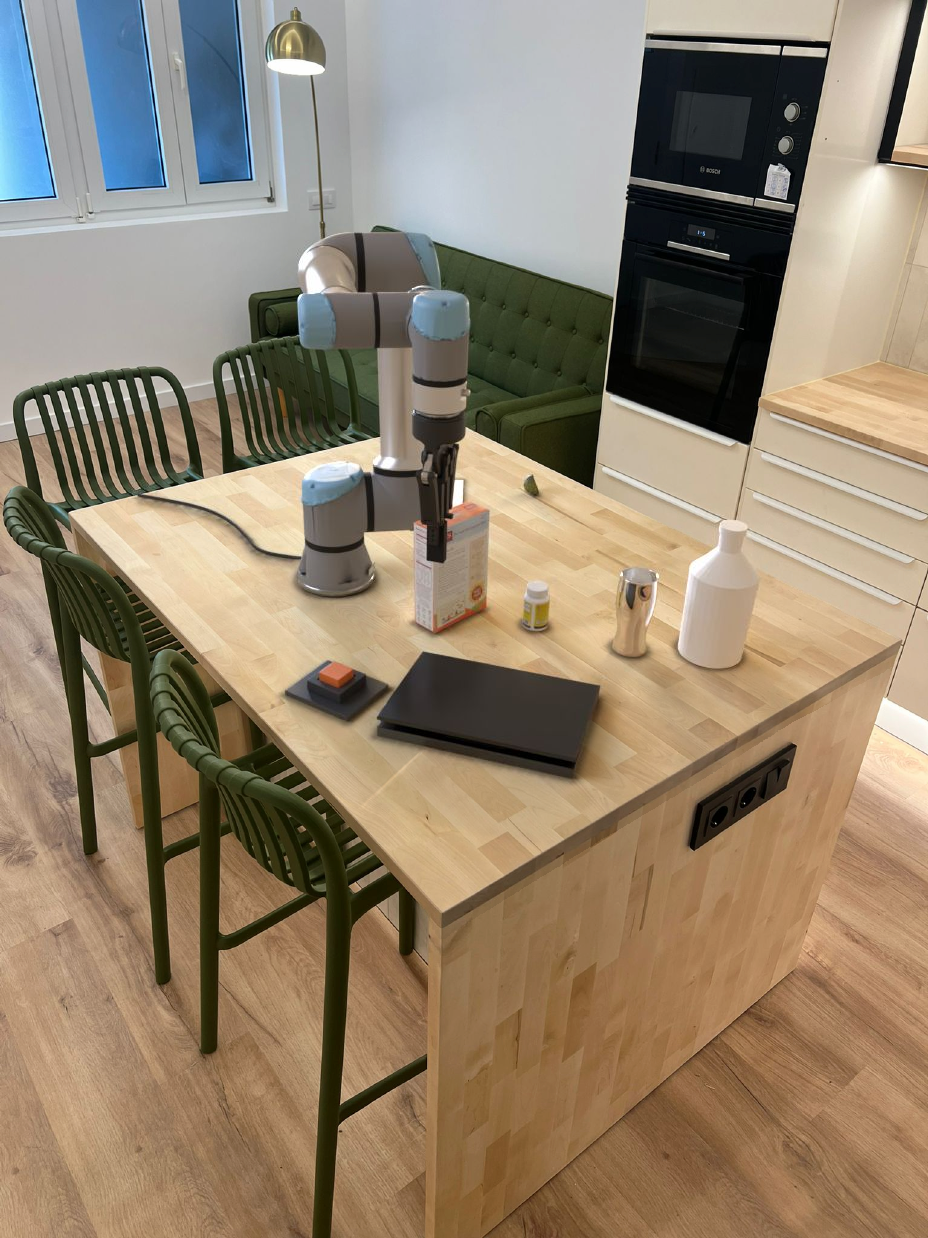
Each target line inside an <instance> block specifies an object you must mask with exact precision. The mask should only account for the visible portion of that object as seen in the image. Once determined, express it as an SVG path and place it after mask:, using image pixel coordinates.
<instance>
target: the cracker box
mask: <svg viewBox="0 0 928 1238" xmlns="http://www.w3.org/2000/svg"><path fill="white" fill-rule="evenodd" d="M449 513H451V514H454V515H453V519H446V518H445V520H447V554H446V560H445V562H444V563H437V562H432V561H426V554H427V525H422V523H421V520H419V521H416V522H414V531H413V569H414V570H413V583H414V585H413V586H414V587H413V588H414V589H413V591H414V594H413V595H414V623H416V624H417V625H419V626H421V627H423V628H424V629H426V630H428V631H430V632H431V633H433V634H437V633H438V632H440V631H442V630H444V629H447V628H449V627H450V626H453V625H455V624H456V623H458V622H461V621H463V620H465V619H466V618H468V617H470V616H472V615H474V614H476V613H479V612H481V611H483V610H485V609H487V600H488V598H487V595H488V569H489V567H488V566H489V543H490V542H489V541H490V539H489V538H490V537H489V536H490V509H488V508H485V507H483V506H481V505H479V504H476V503H474V502H472V501H465V502H463V504H460V505H457V506H455V507H452V509H451V510H449Z"/></svg>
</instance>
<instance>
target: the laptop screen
mask: <svg viewBox="0 0 928 1238" xmlns="http://www.w3.org/2000/svg"><path fill="white" fill-rule="evenodd" d="M599 690H601V685H599V684H594V683H589V682H584V681H578V680H573V679H568V678H563V677H558V676H553V675H547V674H542V673H538V672H532V671H528V670H522V669H517V668H512V667H511V668H510V667H506V666H501V665H496V664H491V663H485V662H481V661H475V660H471V659H470V660H469V659H465V658H460V657H456V656H455V657H453V656H450V655H444V654H440V653H433V652H429V651H424V650H423V651H422V652H421V653H420V654H419V656H418V658H417V659H416V660H415V662H414V663H413V664H412V666H411V667H410V669H409V670H408V671H407V673H406V674H405V675H404V677H403V678H402V680H401V681H400V683H399V684H398V686H397V687H396V688H395V690H394V691H393V693H392V694H391V695H390V697H389V698H388V699H387V701H386V702H385V704H384V705H383V706H382V708H381V710H380V711H379V712H378V713H377V715H376V720H377V721H385V722H390V723H395V724H399V725H404V726H409V727H413V728H418V729H423V730H427V731H432V732H437V733H441V734H446V735H451V736H455V737H460V738H465V739H469V740H474V741H479V742H483V743H488V744H493V745H497V746H502V747H507V748H511V749H516V750H521V751H525V752H530V753H535V754H539V755H544V756H549V757H553V758H558V759H562V760H567V761H572V762H575V761H576V758H577V755H578V752H579V749H580V746H581V743H582V740H583V737H584V734H585V731H586V729H587V726H588V723H589V720H590V717H591V714H592V711H593V708H594V705H595V702H596V699H597V696H598V693H599V694H600V692H599Z"/></svg>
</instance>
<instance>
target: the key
mask: <svg viewBox="0 0 928 1238" xmlns="http://www.w3.org/2000/svg"><path fill="white" fill-rule="evenodd" d="M333 661H334V662H333ZM333 661H332V662H333V663H331V664H330V665H329V666H327V667H326V668H324V669H323V670H322V671H320V672H319V681H322V682H324V683H327V684H329V685H331V686H334V687H336V688H340V687H341V686H343V685H344V684H345V683H347V682H348V681H349V680H351V679H352V678H353V677H354V671H353V669H354V668H352V667H350V666H347V665H345V664H342V663H340V662H337V661H335V660H333Z"/></svg>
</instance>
